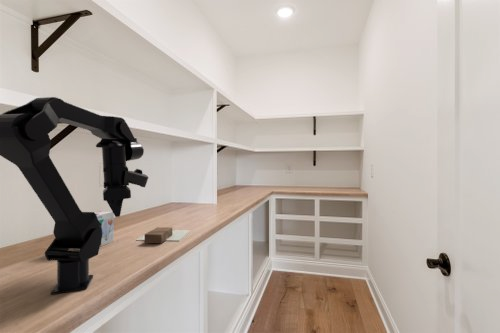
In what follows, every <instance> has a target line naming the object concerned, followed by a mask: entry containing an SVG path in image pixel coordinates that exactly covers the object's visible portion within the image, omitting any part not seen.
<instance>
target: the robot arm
mask: <svg viewBox="0 0 500 333" xmlns="http://www.w3.org/2000/svg"><path fill="white" fill-rule="evenodd" d="M58 123H63V124H65V125H70V126H73V127H76V128H81V129H83V130H84V129H85V130H87V131H89V132H90V133H91V134H92V135H93V136H95V137H97V138H99V139H100V140H99V142H97V143H96V144H95V147H96V148H101V154H102V172H103V190H102V197H103V198H102V199H103V201H104V202H107V204H108V206H109V208H110V209H111V212H113V213H114V217H115V218H119V217H120V216H121V214H122V213H121V212H122V207H123V202H124V200H127V199H131V198H132V194H131V193H132V192H131V188H130V187H128V186H130V184H131V185H135V186H140V187H141V188H146V185H147V183H148V179H149V176H148V175H146V174H144V173H143V170H142V169H139V168H136V169H135V170H134V171H133V170H129V167H128V166H127V162H129V161H135V160H139V159H141V158H142V157H143V156H144V153H145V152H144V151H145V150H144V147H143V146H142V144H141V143H140V142H138V140H137V139H138V138H135V136H134V134H133V132H132V130H131V128H130V127H129V124H128V123H127V121H126V120H125V119H124V118H123V117H119V116H113V115H110V116H109V115H100V114H99V113H95V112H94V111H93V112H92V111H91V110H87V109H84V108H82V107H79V106H78V105H77V106H76V105H74V104H71V103H69V102H67V101H64V100H63V99H61V98H58V97H56V96H52V97H51V96H47V97H37V98H34V99H32V100H30V101H29V102H27V103H25V104H23V105H20V106H17V107H15V108H12V109H10V110H7V111H5V112H3V113H1V114H0V157H1V158H4V159H5V160H7V161H9V162H10V163H12V164H14V165H15V166H16V167H17V168H18V169H19V171H20V172H21V173H22V175H23V177H24V178H25V179H26V181H27V182H28V185H30V188H32V190H33V192H34V193H35V195H36V196H37V197H38V199H39V201H40V202H41V203H42V205H43V206H44V207H45V209H46V211H47V212H48V214H49V215H50V216H51V218H52V219H53V221H54V227H53V230H52V233H53V235H54V238H53V240H52V242H51V243H50V244H49V246H48V247H47V249H46V250H45V252H44V256H45V258H46V261H49V262H50V261H56V265H57V269H56V272H57V273H56V274H57V276H56V285H55V286H54V287H53V288H52V289H51V291H50V294H51V295H54V294H56V295H57V294H60V293H68V292H74V291H79V290H80V291H81V290H85V289H88V287H89V286H90V284H91V282H92V280H93V278H94V275H93V274H90V272H89V270H90V268H89V267H90V266H89V264H90V263H89V262H90V259H92V258H94V257H96V256H98V254H99V251H100V247H101V246H100V243H101V239H102V229H101V227H100V225H102V224H101V223H100V222H99V221H98V218H97V216H96V214H95V213H94V212H95V211H91V212H90V211H82V210H81V209H80V207H79V205H78V204H77V202H76V200H75V198H74V197H73V195H72V193H71V191H70V189H69V188H68V186H67V184H66V183H65V181H64V180H63V177H62V176H61V174H60V172H59V171H58V169H57V167H56V166H55V163H54V162H53V160H52V159H51V157H50V152H51V146H52V139H51V138H50V135H49V134H50V133H51V132H52V131H54V130H55V129H56V128H57V127H58ZM70 249H71V250H70ZM72 249H73V250H72ZM78 249H80V250H78Z"/></svg>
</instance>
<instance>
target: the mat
mask: <svg viewBox="0 0 500 333" xmlns="http://www.w3.org/2000/svg"><path fill="white" fill-rule="evenodd" d="M190 232H192V230H191V229H190V230H189V229H185V230H184V229H175V230H174V229H172V236H171V237H169V238H168V239H167V240H165V241H164V242H180V241H181V240H183V239H184V238H185V237H186V236H187V235H188V234H189V233H190ZM135 241H137V242H143V241H144V242H145V234H143V235H142V236H140V237H138V238H137V239H135Z"/></svg>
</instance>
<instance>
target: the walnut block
mask: <svg viewBox="0 0 500 333" xmlns="http://www.w3.org/2000/svg"><path fill="white" fill-rule="evenodd" d="M172 230H173V227H172V226H171V227H170V226H169V227H167V226H166V227H165V226H164V227H163V226H160V227H159V226H158V227H155V228H154V229H152V230H149V231H148V232H146V233H145V234H144V235H145V241H144V244H162V243H164V242H166V241H165V240H167V239H168V238H169V237H171V236H172Z"/></svg>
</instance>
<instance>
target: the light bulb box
mask: <svg viewBox="0 0 500 333" xmlns="http://www.w3.org/2000/svg"><path fill="white" fill-rule="evenodd" d="M93 212H94V213H95V214H96V216H97V218H98V221H99V222H100V223H101V224H102V225H100V227H101V229H102V239H101V243H100V247H103V246H105V245H108V244H111V243H113V242H114V234H115V233H114V228H115V227H114V225H115V224H114V221H115V220H114V217H115V215H114V213H113V211H100V210H99V211H98V210H97V211H93ZM79 250H80V249H77V251H79Z"/></svg>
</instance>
